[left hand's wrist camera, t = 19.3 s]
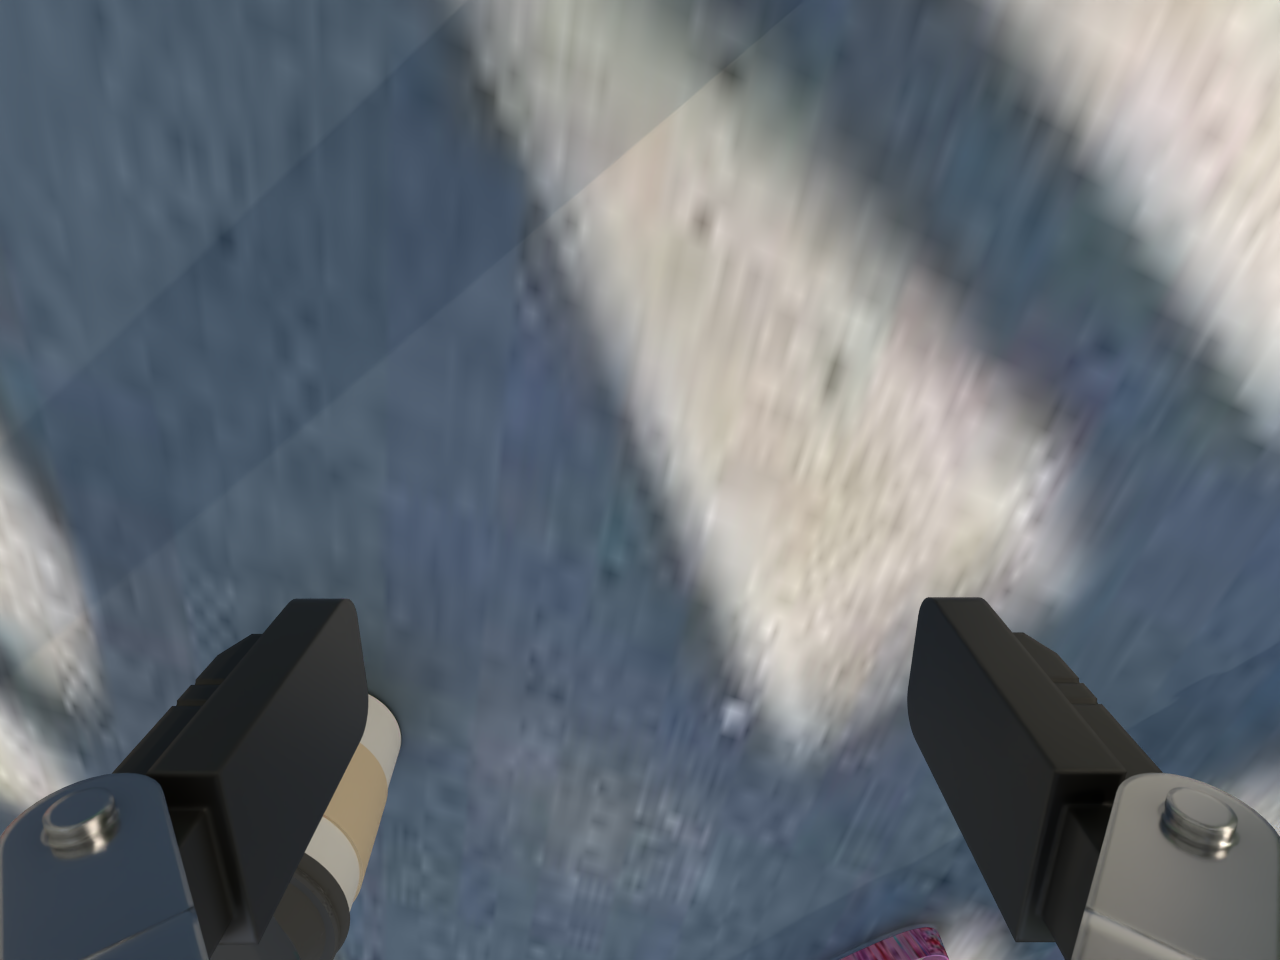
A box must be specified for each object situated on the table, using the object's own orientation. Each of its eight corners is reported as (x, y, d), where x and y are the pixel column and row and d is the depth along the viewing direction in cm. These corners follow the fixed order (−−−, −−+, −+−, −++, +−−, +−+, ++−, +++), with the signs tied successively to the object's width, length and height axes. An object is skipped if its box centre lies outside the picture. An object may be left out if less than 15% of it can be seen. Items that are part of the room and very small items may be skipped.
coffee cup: (310, 806, 50) (183, 1047, 36) (244, 693, 47) (78, 907, 33) (442, 773, 49) (363, 1006, 35) (383, 654, 46) (272, 858, 32)
